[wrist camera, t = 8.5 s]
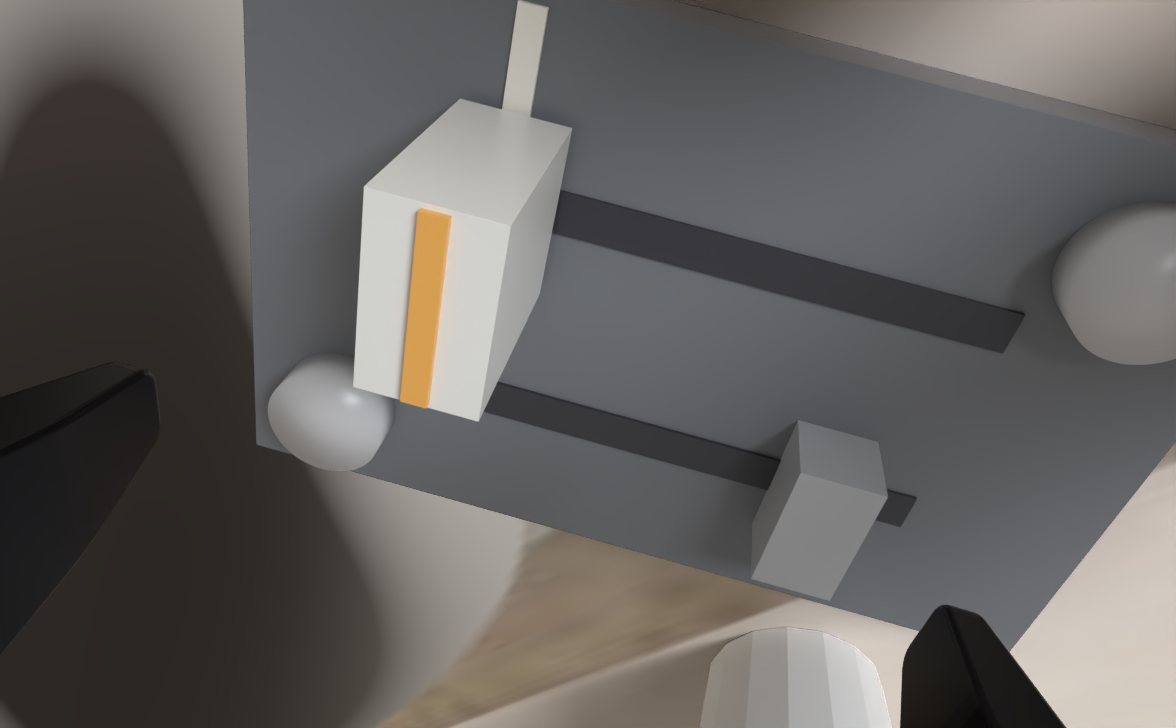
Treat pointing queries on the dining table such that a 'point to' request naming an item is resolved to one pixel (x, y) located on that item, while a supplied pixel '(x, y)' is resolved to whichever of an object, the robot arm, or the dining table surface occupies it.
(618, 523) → the console
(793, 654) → the white cup
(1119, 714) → the dining table surface
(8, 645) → the robot arm
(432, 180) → the fader
